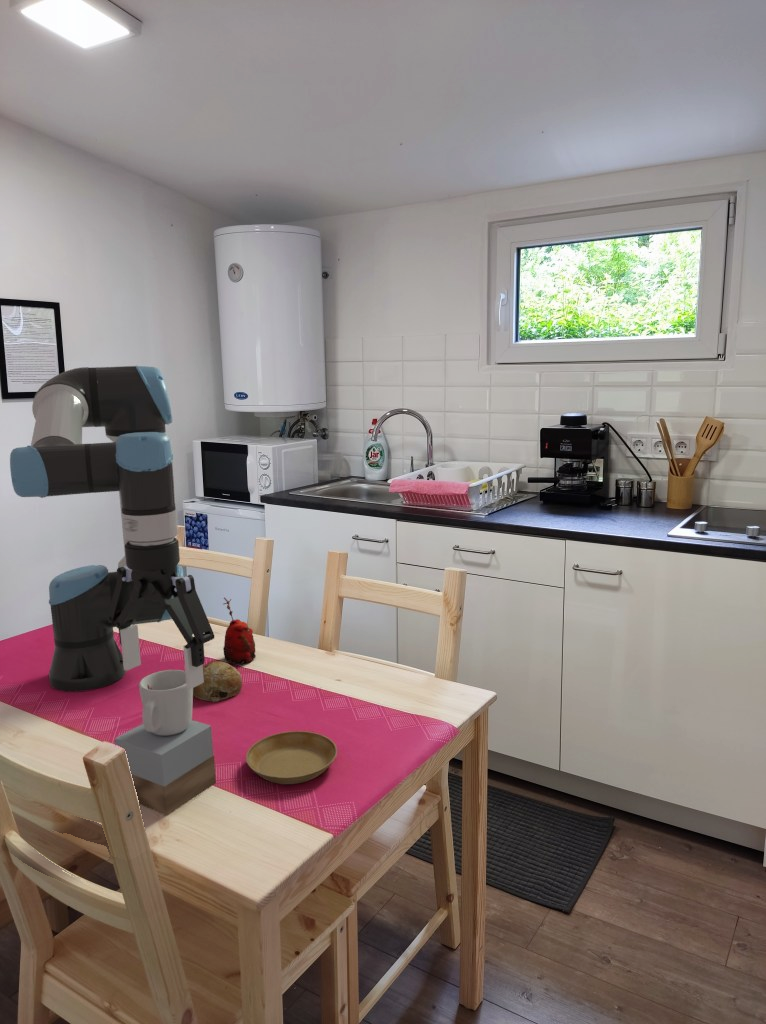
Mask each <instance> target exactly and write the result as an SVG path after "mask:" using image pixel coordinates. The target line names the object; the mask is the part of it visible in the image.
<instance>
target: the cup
mask: <svg viewBox="0 0 766 1024" xmlns="http://www.w3.org/2000/svg"><path fill="white" fill-rule="evenodd" d="M138 688H139V694H140V699H141V704H142V712H141V713H142V717H141V719H142V724H143V725H144V728H145V730H146V731H148V732H152V733H153V734H156V735H161V736H169V735H174V734H177V733H180V732H182V731H184V730H185V729H187V728H188V727H189V725H190V723H191V720H193V706H194V705H193V703H194V702H193V698H194V695H193V688H192V689H187V686H186V673H185V670H181V669H167V670H160V671H156V672H153V673H151V674H148V675H146V676H144V677H143V678H142V679H141V680H140V681H139V683H138Z"/></svg>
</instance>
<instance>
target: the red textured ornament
mask: <svg viewBox="0 0 766 1024" xmlns="http://www.w3.org/2000/svg"><path fill="white" fill-rule="evenodd" d="M223 599H224V601H225V603H222V605H227V606H226V609H227V610H229V615H230V616H231V621H230V622H229V625H228V626H227V628H226V631H225V635H224V643H223V656H224V659H225V661H228V662H231V663H232V662H233V663H232V664H237V663H238V664H239V663H240V664H241V663H242V664H243V663H245V664H248V663H251V662H252V660H254V659H256V642H255V639H254V634H253V629H252V628H251V627H249V626H248V623H247V622H245V621H241V620H240V619H237V618H236V619H233V610H231V606H230V602H231V600H232V598H230V600H228V599H227V598H226V597H223Z"/></svg>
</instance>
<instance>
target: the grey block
mask: <svg viewBox="0 0 766 1024" xmlns="http://www.w3.org/2000/svg"><path fill="white" fill-rule="evenodd" d="M212 731H213V730H212V725H210V724H206V723H203V722H200V721H197V720H193V719H192V720H191V723H190V725H189V727H188V728H187V729H185V730H184V731H182V732H180V733H177V734H174V735H169V736H161V735H156V734H153V733H152V732H148V731H146V730H145V728H144V725H143V723H141V724H139V725H138V726H136V727H135V726H134V727H133V728H132V729H130V730H127V731H126V732H125V733H122V734H120V735H118V736H116V737H115V738H114V743H115V746H116V745H118V746H120V747H122V748H124V749H125V751H126V754H127V758H128V762H129V766H130V771H131V774H133V775H136V776H138V777H141V778H143V779H146V780H148V781H151V782H154V783H156V784H159V785H161V786H166V785H168V784H169V783H171V782H172V781H174V780H175V779H177V778H179V777H180V776H182V775H183V774H185V773H186V772H188V771H190V770H191V769H193V768H194V767H196V766H198V765H199V764H201V763H202V762H204V761H205V760H207V759H209V758H210V757H212V756H213V755H214V748H213V746H214V745H213V733H212Z"/></svg>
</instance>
